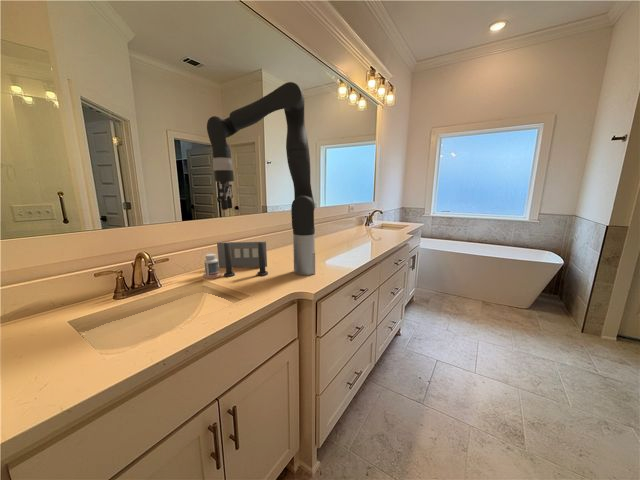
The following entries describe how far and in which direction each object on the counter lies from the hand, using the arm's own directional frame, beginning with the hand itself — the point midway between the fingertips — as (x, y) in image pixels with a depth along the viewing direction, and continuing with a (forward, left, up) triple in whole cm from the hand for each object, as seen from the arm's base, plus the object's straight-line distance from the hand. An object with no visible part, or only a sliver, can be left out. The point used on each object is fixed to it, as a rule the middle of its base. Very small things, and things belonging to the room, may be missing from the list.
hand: (227, 209), depth 109 cm
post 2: (-14, +6, -28) cm, 32 cm away
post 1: (0, +6, -28) cm, 28 cm away
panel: (-4, -5, -28) cm, 29 cm away
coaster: (+7, +6, -28) cm, 29 cm away
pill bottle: (+6, +6, -28) cm, 29 cm away
